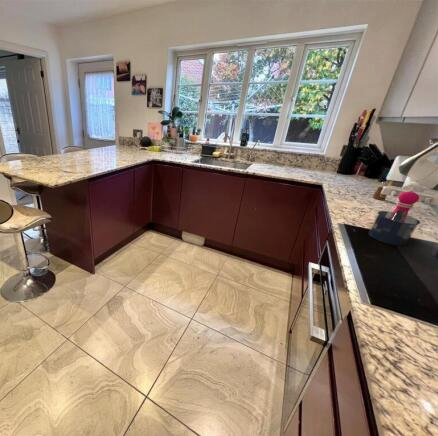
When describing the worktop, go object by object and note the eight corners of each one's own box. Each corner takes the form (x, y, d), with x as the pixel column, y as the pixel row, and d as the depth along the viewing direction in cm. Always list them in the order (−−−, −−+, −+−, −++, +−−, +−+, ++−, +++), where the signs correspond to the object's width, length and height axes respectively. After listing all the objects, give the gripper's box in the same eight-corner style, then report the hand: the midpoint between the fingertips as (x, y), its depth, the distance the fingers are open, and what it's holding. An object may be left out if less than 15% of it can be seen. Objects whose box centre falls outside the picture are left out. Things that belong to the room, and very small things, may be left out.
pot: (413, 245, 93) (426, 224, 89) (387, 245, 92) (399, 224, 88) (385, 231, 104) (395, 212, 100) (361, 231, 103) (370, 212, 99)
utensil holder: (369, 197, 150) (378, 179, 145) (378, 197, 151) (386, 179, 146) (378, 200, 145) (388, 181, 140) (387, 200, 145) (397, 181, 140)
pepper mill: (384, 232, 103) (407, 189, 95) (376, 225, 109) (397, 185, 101) (405, 235, 101) (430, 192, 92) (395, 228, 107) (419, 187, 99)
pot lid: (428, 226, 89) (434, 216, 87) (398, 226, 88) (404, 216, 86) (394, 213, 100) (399, 204, 99) (368, 213, 99) (372, 204, 98)
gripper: (387, 181, 120) (382, 185, 112) (447, 192, 106) (446, 197, 97) (381, 192, 122) (376, 197, 114) (439, 205, 108) (438, 211, 100)
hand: (409, 197), depth 106 cm, fingers open, 8 cm apart
